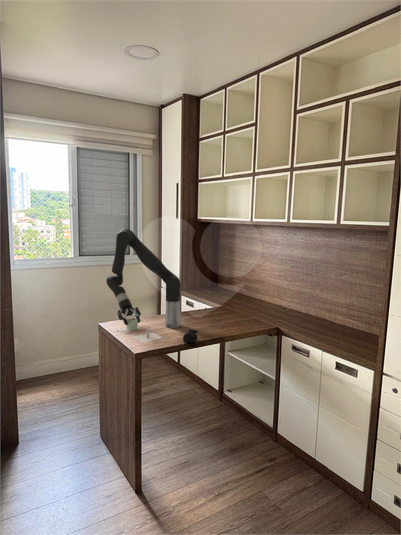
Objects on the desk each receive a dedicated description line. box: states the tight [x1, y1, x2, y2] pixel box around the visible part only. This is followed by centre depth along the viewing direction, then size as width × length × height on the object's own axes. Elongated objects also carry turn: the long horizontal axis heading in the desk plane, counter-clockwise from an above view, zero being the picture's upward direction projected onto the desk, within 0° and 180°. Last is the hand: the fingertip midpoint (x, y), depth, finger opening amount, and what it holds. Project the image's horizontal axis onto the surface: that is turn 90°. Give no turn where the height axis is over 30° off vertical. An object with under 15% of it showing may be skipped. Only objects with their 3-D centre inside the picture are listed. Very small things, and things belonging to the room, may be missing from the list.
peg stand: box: [132, 326, 164, 344], centre depth 210 cm, size 14×12×8 cm
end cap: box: [182, 328, 198, 346], centre depth 208 cm, size 10×7×7 cm
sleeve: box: [126, 317, 139, 331], centre depth 225 cm, size 5×5×7 cm
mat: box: [116, 326, 128, 332], centre depth 225 cm, size 14×14×1 cm
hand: (133, 323), depth 224 cm, fingers open, 8 cm apart
